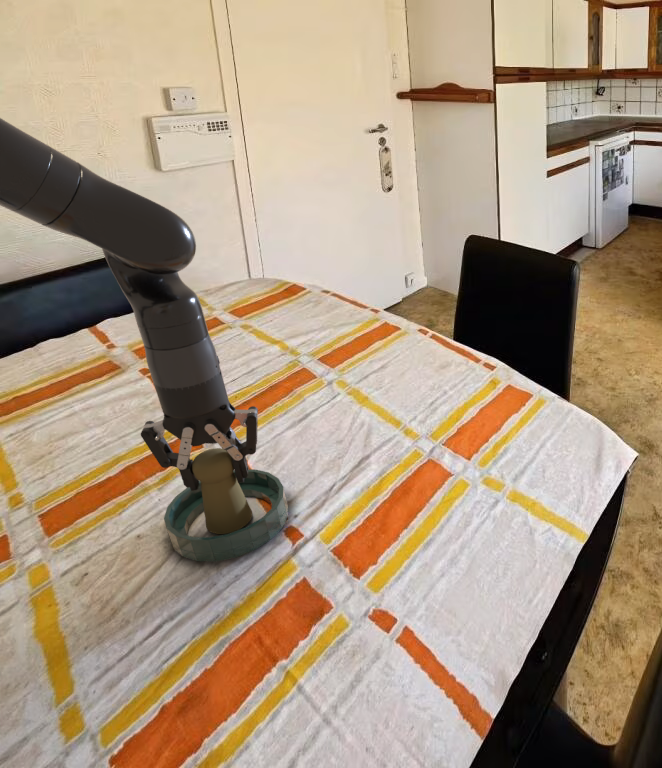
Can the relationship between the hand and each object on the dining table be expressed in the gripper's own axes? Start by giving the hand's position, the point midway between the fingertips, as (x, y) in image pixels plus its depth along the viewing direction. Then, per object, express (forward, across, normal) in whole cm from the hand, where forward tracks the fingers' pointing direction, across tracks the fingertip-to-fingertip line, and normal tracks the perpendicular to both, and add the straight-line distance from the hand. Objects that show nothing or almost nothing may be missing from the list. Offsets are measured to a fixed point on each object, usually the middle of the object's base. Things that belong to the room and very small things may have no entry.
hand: (218, 482), depth 84 cm
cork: (+7, 0, 0) cm, 7 cm away
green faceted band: (+8, 0, 0) cm, 8 cm away
